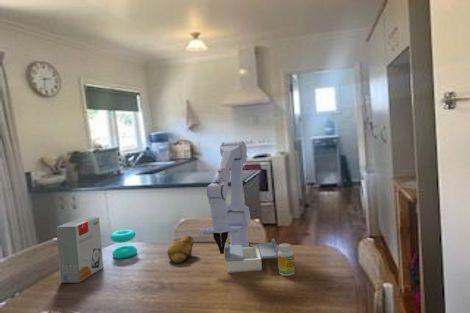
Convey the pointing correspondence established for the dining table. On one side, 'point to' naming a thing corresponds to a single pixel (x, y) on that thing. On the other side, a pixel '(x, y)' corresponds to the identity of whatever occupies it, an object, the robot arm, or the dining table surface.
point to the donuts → (123, 250)
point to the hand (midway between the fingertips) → (222, 253)
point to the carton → (246, 261)
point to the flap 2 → (268, 249)
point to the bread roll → (180, 249)
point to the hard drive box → (79, 249)
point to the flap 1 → (233, 252)
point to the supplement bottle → (286, 260)
